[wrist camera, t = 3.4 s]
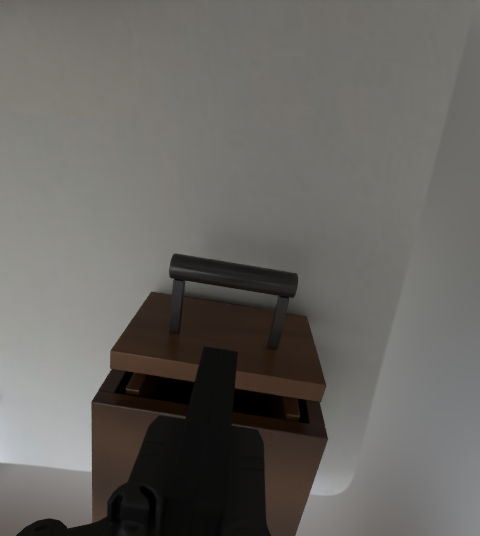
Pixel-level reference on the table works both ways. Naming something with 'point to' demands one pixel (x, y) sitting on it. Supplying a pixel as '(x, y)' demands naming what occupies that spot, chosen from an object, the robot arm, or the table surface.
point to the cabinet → (271, 430)
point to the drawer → (222, 341)
